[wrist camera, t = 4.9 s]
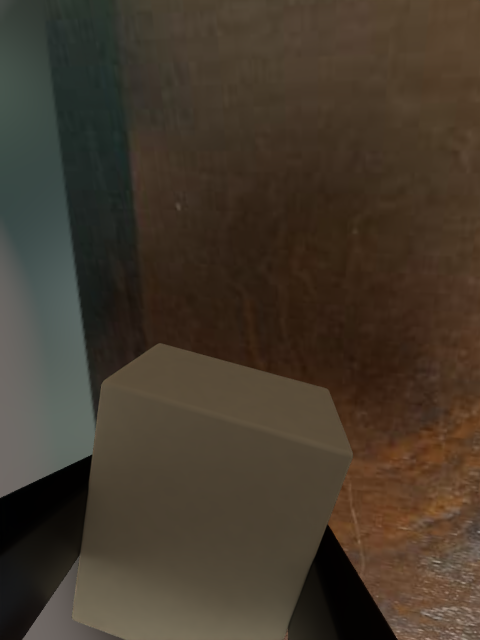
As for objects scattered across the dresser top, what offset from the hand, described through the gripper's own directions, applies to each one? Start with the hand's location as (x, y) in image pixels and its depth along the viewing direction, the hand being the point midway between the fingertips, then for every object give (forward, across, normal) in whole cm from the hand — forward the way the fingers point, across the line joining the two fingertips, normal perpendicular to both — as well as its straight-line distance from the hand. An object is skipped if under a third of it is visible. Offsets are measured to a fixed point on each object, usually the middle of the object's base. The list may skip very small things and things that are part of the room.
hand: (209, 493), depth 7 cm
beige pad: (+1, 0, 0) cm, 1 cm away
